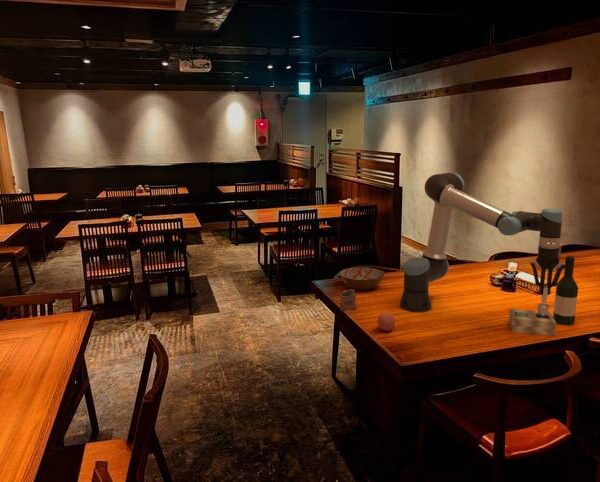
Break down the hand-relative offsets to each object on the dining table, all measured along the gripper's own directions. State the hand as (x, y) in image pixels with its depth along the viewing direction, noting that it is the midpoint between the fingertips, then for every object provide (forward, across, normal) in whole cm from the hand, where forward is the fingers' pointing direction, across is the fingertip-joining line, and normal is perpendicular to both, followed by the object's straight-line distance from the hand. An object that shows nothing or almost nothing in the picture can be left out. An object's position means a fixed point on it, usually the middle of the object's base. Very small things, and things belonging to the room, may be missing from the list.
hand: (543, 301), depth 195 cm
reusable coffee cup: (+13, +20, +100) cm, 103 cm away
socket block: (+12, -4, 0) cm, 13 cm away
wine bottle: (+13, +11, +12) cm, 20 cm away
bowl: (+13, -84, +40) cm, 94 cm away
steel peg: (+7, 0, 0) cm, 7 cm away
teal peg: (+12, -8, 0) cm, 14 cm away
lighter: (+13, -84, +3) cm, 85 cm away
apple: (+13, -63, -17) cm, 67 cm away
